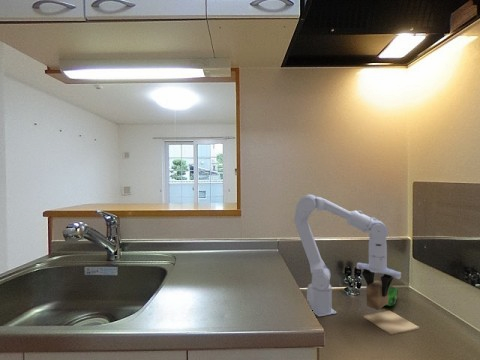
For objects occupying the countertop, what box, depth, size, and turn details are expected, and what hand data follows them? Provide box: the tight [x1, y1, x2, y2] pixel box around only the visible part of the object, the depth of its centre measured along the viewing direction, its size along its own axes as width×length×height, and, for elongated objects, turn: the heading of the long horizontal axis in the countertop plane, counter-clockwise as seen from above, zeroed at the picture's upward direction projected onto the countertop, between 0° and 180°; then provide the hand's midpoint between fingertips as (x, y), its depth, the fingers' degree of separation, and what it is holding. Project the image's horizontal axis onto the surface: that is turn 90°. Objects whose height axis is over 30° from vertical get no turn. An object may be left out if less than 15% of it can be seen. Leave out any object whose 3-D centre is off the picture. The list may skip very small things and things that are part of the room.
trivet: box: [363, 310, 420, 336], centre depth 96 cm, size 12×12×1 cm
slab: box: [366, 279, 388, 311], centre depth 97 cm, size 4×8×7 cm, turn 130°
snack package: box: [385, 285, 399, 307], centre depth 112 cm, size 7×16×5 cm, turn 143°
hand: (377, 293), depth 97 cm, fingers closed on slab, 4 cm apart
